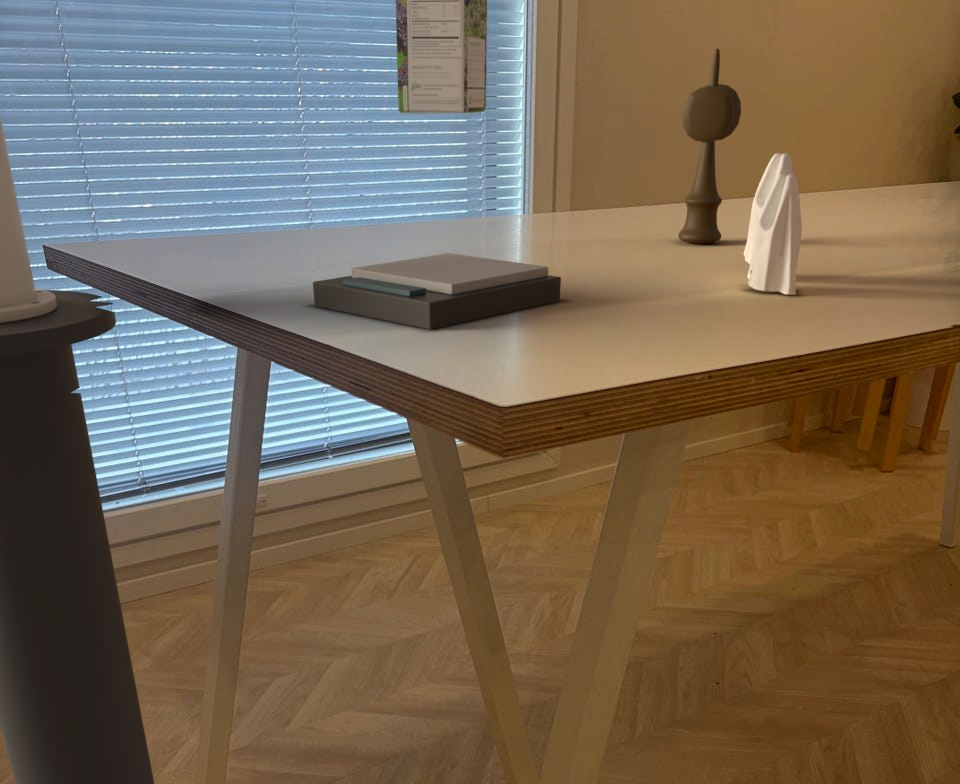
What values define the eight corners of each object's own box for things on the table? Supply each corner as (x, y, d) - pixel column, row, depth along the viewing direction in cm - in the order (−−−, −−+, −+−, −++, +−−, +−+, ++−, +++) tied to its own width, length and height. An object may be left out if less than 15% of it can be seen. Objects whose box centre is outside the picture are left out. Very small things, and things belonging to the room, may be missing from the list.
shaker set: (740, 272, 102) (754, 150, 97) (783, 273, 102) (800, 150, 97) (749, 294, 92) (765, 158, 87) (797, 295, 91) (816, 158, 86)
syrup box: (422, 112, 87) (416, -98, 80) (489, 112, 85) (489, -102, 78) (397, 114, 82) (388, -109, 75) (467, 114, 80) (465, -114, 73)
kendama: (728, 238, 125) (748, 49, 116) (721, 249, 117) (742, 46, 107) (678, 236, 127) (694, 49, 117) (668, 247, 118) (684, 47, 109)
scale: (430, 329, 79) (429, 291, 78) (314, 306, 87) (311, 271, 86) (560, 300, 89) (561, 267, 88) (445, 282, 98) (445, 251, 96)
